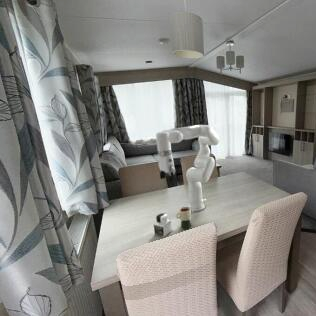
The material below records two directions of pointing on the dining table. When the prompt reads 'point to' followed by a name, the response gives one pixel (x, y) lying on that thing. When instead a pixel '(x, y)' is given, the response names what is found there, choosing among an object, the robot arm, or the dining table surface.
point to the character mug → (185, 217)
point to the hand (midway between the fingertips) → (167, 179)
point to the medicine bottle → (162, 225)
